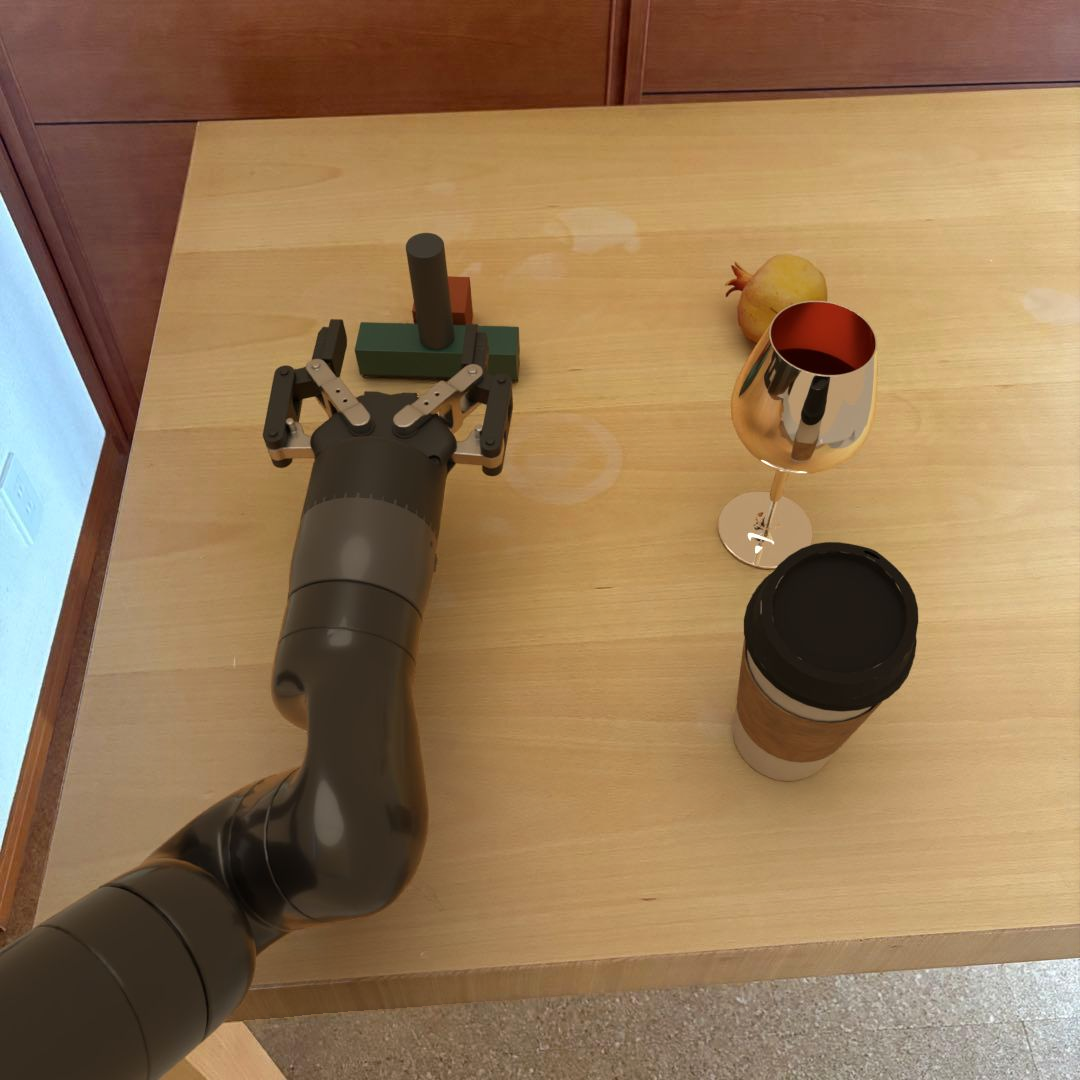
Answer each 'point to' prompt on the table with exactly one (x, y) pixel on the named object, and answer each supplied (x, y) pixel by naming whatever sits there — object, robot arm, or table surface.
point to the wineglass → (798, 419)
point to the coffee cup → (820, 655)
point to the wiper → (430, 328)
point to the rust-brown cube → (458, 301)
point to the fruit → (774, 291)
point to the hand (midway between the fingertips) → (405, 331)
